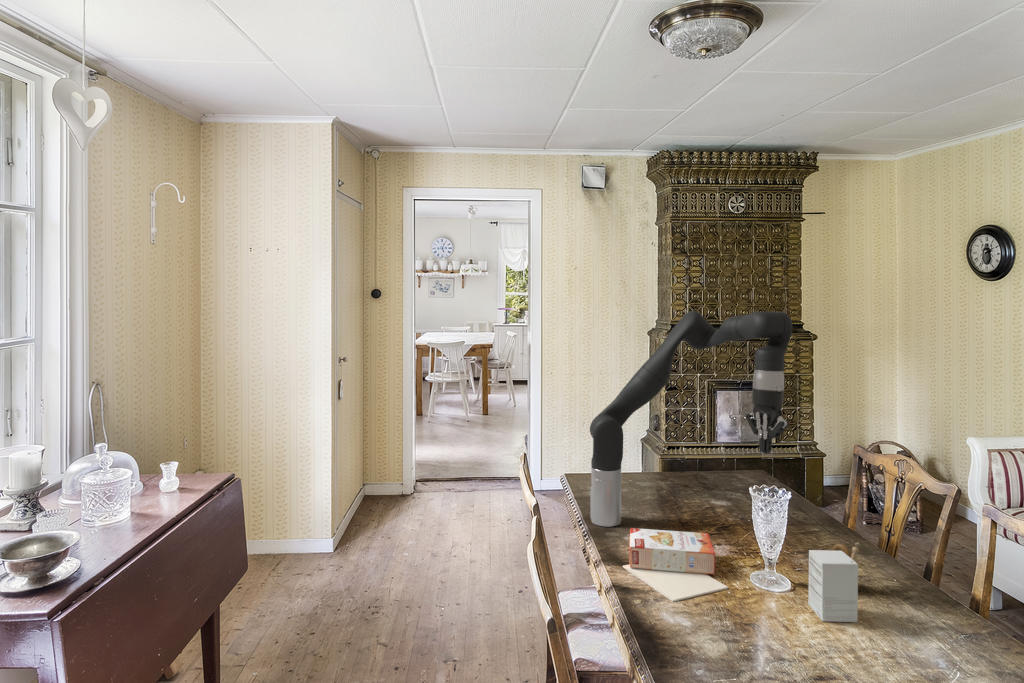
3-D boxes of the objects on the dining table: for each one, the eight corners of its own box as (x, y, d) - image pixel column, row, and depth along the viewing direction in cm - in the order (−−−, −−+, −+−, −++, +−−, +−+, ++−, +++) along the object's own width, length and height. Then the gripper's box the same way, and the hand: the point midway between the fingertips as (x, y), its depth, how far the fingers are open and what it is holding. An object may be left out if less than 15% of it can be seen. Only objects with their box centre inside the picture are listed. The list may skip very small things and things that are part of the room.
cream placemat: (622, 567, 150) (622, 565, 150) (673, 556, 156) (673, 555, 156) (672, 601, 132) (672, 600, 132) (727, 588, 138) (727, 586, 138)
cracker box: (715, 551, 144) (629, 546, 148) (715, 575, 144) (629, 569, 148) (708, 531, 157) (629, 526, 162) (708, 553, 158) (629, 548, 162)
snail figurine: (850, 596, 134) (851, 545, 133) (824, 585, 139) (824, 536, 139) (864, 591, 136) (865, 540, 136) (838, 580, 142) (839, 532, 141)
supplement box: (841, 606, 130) (843, 549, 129) (858, 623, 122) (859, 564, 122) (807, 604, 130) (808, 548, 130) (821, 621, 123) (822, 562, 122)
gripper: (738, 384, 159) (735, 448, 159) (777, 390, 146) (774, 459, 147) (759, 384, 162) (756, 446, 162) (799, 390, 149) (796, 457, 150)
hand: (765, 452), depth 155 cm, fingers closed
